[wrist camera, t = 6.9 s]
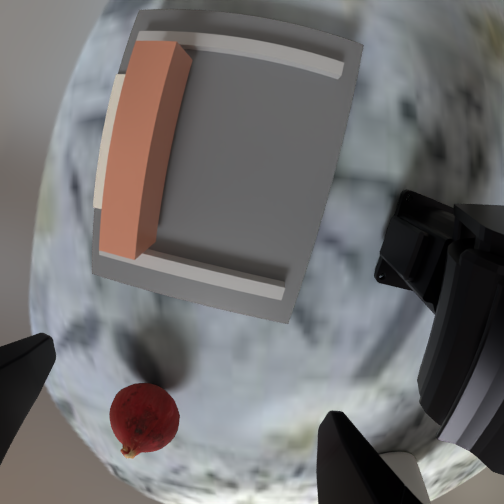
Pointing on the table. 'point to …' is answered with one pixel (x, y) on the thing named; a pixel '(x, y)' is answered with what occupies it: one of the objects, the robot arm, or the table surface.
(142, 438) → the pomegranate
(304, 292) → the table surface
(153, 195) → the lever
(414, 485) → the cylinder vase
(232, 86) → the box
